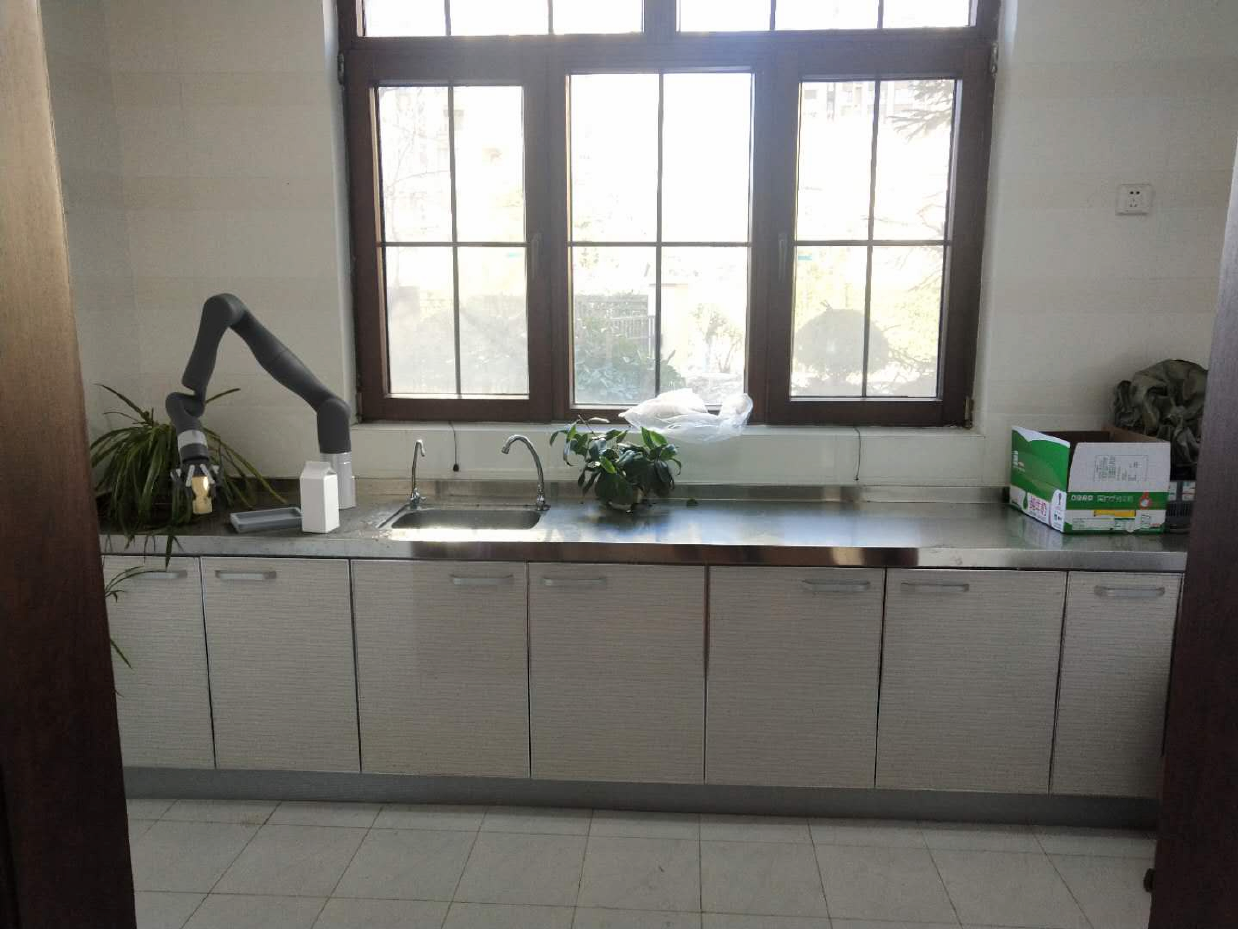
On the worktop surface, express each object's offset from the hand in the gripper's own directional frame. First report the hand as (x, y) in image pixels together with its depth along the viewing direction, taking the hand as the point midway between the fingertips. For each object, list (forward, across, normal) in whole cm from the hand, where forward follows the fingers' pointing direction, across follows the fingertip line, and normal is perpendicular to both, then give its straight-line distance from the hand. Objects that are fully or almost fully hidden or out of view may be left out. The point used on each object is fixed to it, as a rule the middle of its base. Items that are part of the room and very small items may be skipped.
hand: (202, 498), depth 236 cm
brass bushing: (+2, 0, +4) cm, 5 cm away
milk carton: (+21, +27, -9) cm, 35 cm away
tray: (+11, +16, 0) cm, 19 cm away
